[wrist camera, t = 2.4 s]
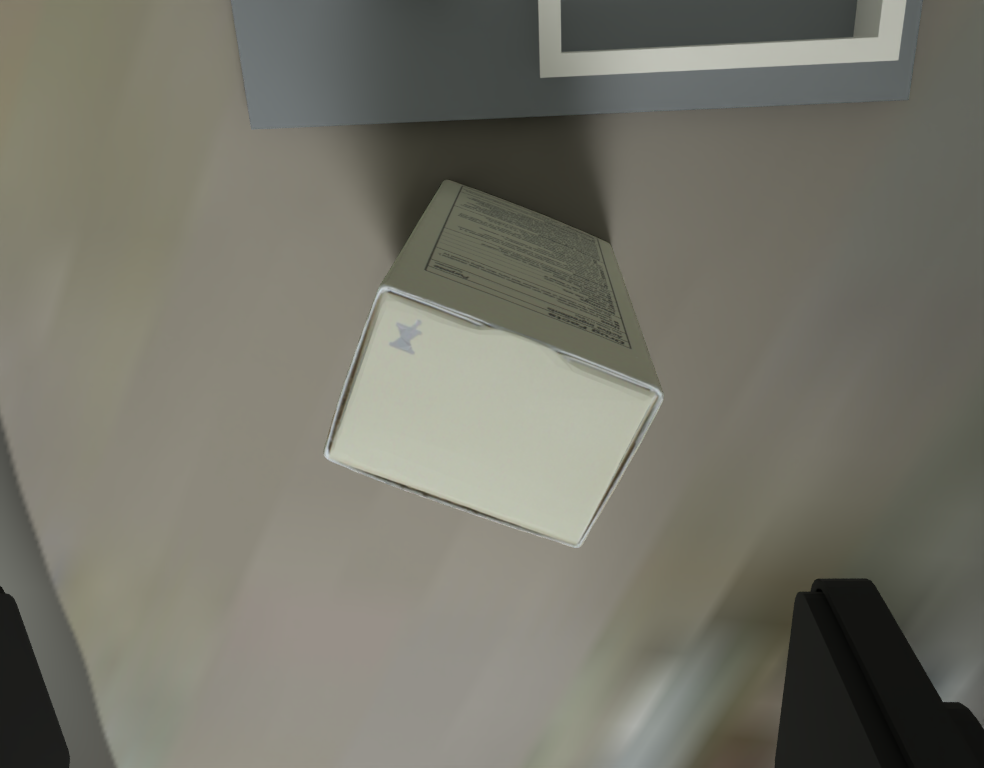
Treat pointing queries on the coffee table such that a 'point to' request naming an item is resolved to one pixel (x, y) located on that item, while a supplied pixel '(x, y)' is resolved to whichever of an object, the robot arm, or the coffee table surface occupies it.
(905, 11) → the socket plate
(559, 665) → the coffee table surface
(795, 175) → the coffee table surface
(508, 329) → the skincare box
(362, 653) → the coffee table surface
